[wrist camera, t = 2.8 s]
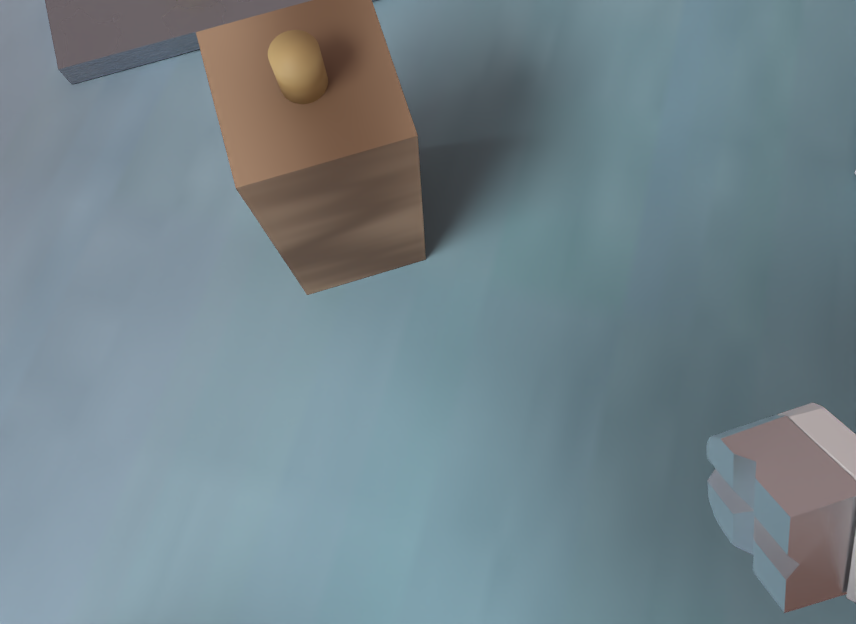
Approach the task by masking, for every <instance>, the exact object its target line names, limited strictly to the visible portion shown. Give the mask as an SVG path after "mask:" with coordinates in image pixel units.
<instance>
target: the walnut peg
mask: <svg viewBox="0 0 856 624" xmlns="http://www.w3.org/2000/svg"><path fill="white" fill-rule="evenodd" d="M196 35H197V39H198V43H199V47H200V51H201V55H202V58H203V62H204V66H205V70H206V74H207V78H208V82H209V86H210V90H211V93H212V97H213V101H214V105H215V109H216V113H217V117H218V121H219V125H220V128H221V132H222V136H223V140H224V144H225V148H226V152H227V156H228V160H229V163H230V167H231V171H232V175H233V179H234V183H235V187H236V189H237V191H238V192H239V194H240V195H241V197H242V198H243V200H244V201H245V203H246V204H247V205H248V207H249V208H250V210H251V211H252V213H253V214H254V216H255V217H256V219H257V220H258V222H259V223H260V225H261V226H262V228H263V229H264V231H265V232H266V234H267V235H268V237H269V238H270V240H271V241H272V243H273V244H274V246H275V247H276V249H277V250H278V252H279V253H280V255H281V256H282V258H283V259H284V261H285V262H286V264H287V265H288V267H289V268H290V270H291V271H292V273H293V274H294V276H295V277H296V279H297V280H298V282H299V283H300V285H301V286H302V288H303V289H304V291H305V292H306V294H307V295H309V294H312V293H316V292H319V291H322V290H326V289H329V288H332V287H336V286H339V285H342V284H346V283H349V282H352V281H356V280H359V279H362V278H366V277H369V276H372V275H376V274H379V273H382V272H386V271H389V270H392V269H396V268H399V267H403V266H406V265H409V264H413V263H416V262H419V261H423V260H426V254H425V238H424V223H423V208H422V193H421V178H420V163H419V147H418V135H417V132H416V129H415V126H414V123H413V120H412V117H411V114H410V112H409V109H408V106H407V103H406V100H405V97H404V94H403V91H402V88H401V85H400V82H399V79H398V76H397V73H396V70H395V67H394V65H393V62H392V59H391V56H390V53H389V50H388V47H387V44H386V41H385V38H384V35H383V32H382V29H381V26H380V23H379V20H378V17H377V15H376V12H375V9H374V6H373V3H372V0H311V1H308V2H304V3H300V4H297V5H293V6H289V7H286V8H282V9H278V10H275V11H271V12H267V13H264V14H260V15H256V16H253V17H249V18H245V19H242V20H238V21H234V22H231V23H227V24H223V25H220V26H216V27H213V28H209V29H205V30H202V31H198V32H196Z"/></svg>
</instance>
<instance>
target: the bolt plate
mask: <svg viewBox="0 0 856 624" xmlns="http://www.w3.org/2000/svg"><path fill="white" fill-rule="evenodd" d="M308 1H311V0H45V2H46V8H47V13H48V18H49V23H50V28H51V34H52V39H53V44H54V49H55V54H56V59H57V65H58V70H59V71H60V72H61V73H62V74H63V75H64V76H65V77H66V78H67V80H68V81H69V82H70V83H71V84H75V83H79V82H83V81H86V80H90V79H94V78H97V77H101V76H104V75H108V74H112V73H115V72H119V71H123V70H126V69H130V68H134V67H137V66H141V65H144V64H148V63H152V62H155V61H159V60H163V59H166V58H170V57H173V56H177V55H181V54H184V53H188V52H192V51H195V50H199V49H200V47H199V43H198V39H197V35H196V32H198V31H202V30H205V29H209V28H213V27H216V26H220V25H223V24H227V23H231V22H234V21H238V20H242V19H245V18H249V17H253V16H256V15H260V14H264V13H267V12H271V11H275V10H278V9H282V8H286V7H289V6H293V5H297V4H300V3H304V2H308ZM373 1H377V0H372V2H373Z"/></svg>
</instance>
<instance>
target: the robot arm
mask: <svg viewBox="0 0 856 624" xmlns="http://www.w3.org/2000/svg"><path fill="white" fill-rule="evenodd" d="M706 446H707V459H708V460H709V461H710V462H711V464H712V465H713V466H714V467H715V470H714V471H713V473H712V474H711V476H710V477H709V479H708V480H707V486H708V499H709V502H710V505H711V508H712V511H713V514H714V517H715V519H716V520H717V522H718V524H719V526H720V528H721V529H722V531H723V533H724V534H725V535H726V537H727V538H728V539H729V541H730V542H731V544H732V545H733V546H735V547H737V548H739V549H741V550H743V551H745V552H748V553H750V554H752V555H753V573H754V574H755V575H756V577H757V578H758V579H759V581H760V582H761V583H762V585H763V586H764V587H765V589H766V590H767V591H768V592H769V594H770V595H771V596H772V598H773V599H774V600H775V602H776V603H777V604H778V605H779V607H780V608H781V609H782V611H783V612H784V613H786V612H789V611H793V610H796V609H799V608H802V607H806V606H809V605H812V604H816V603H819V602H822V601H825V600H829V599H832V598H835V597H838V596H842V595H845V594H847V596H846V598H848V599H849V600H851V601H853V602H855V603H856V434H855V433H854V432H852V431H851V430H850V429H849V428H848V427H846V426H845V425H844V424H843V423H842V422H841V421H839V420H838V419H837V418H836V417H835V416H833V415H832V414H831V413H830V412H829V411H828V410H826V409H825V408H824V407H823V406H821V405H818V404H815V403H810V404H807V405H804V406H801V407H798V408H795V409H792V410H788V411H785V412H782V413H779V414H778V415H772V416H769V417H766V418H763V419H760V420H757V421H754V422H751V423H748V424H745V425H742V426H739V427H736V428H733V429H730V430H727V431H724V432H721V433H718V434H715V435H712V436H710V437H709V440H708V442H707V444H706Z"/></svg>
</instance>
